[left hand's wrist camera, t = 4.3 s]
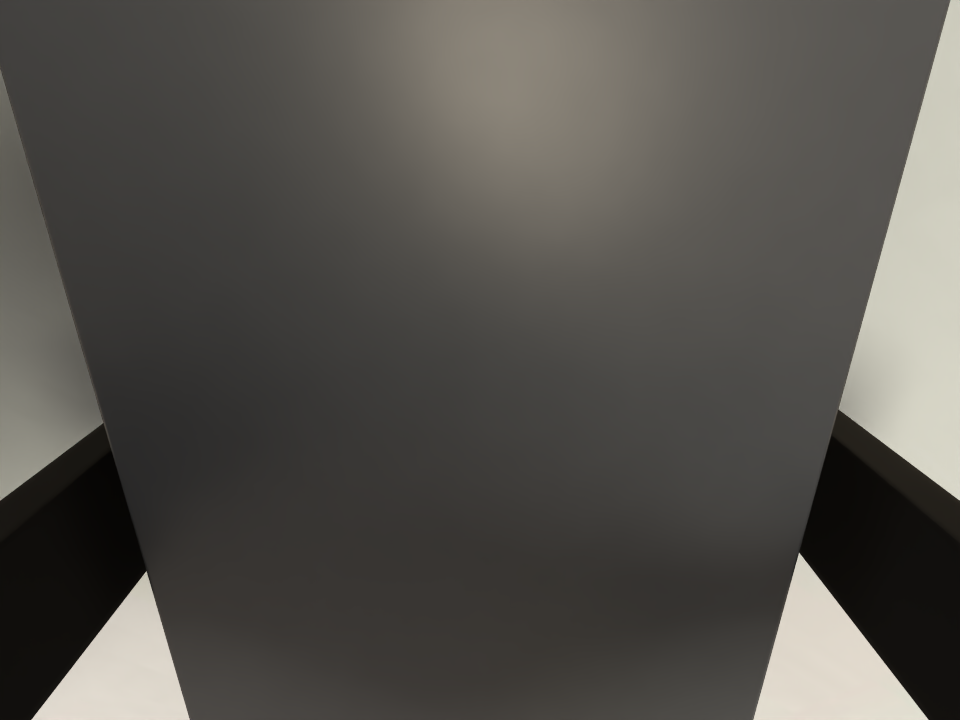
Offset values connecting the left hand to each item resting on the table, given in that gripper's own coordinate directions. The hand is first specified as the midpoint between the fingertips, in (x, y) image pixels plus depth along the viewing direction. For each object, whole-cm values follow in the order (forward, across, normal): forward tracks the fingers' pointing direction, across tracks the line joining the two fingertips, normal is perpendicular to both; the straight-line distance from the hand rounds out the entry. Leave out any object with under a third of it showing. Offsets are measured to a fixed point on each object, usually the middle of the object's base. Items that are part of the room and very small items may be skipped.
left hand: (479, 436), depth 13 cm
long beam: (+2, 0, -32) cm, 32 cm away
